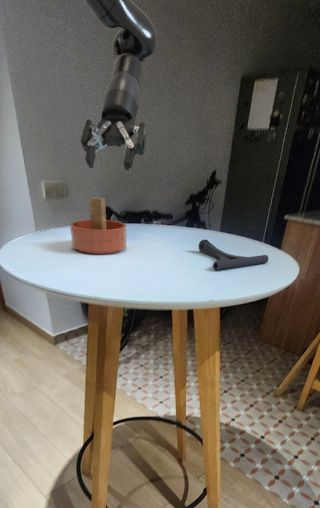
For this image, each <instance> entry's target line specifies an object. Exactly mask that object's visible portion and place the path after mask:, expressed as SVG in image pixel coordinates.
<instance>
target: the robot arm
mask: <svg viewBox="0 0 320 508" xmlns="http://www.w3.org/2000/svg"><path fill="white" fill-rule="evenodd" d="M83 1H84V3H85V4H86V5H87V7H88V8H89V10H90V11H91V12H92V14H93V15H94V16H95V18H96V19H97V21H98V22H99V23H100V25H101V26H102V27H103V28H104V29H106V30H113V29H116V28H121V29H120V30H119V31H118V32H116V35H115V36H114V38H113V41H112V46H111V47H112V48H111V49H112V62H113V69H112V73H111V77H110V80H109V83H108V85H107V89H106V94H105V98H104V102H103V107H102V111H101V118H100V121H99V122H98V123H93V122H92V120H91V119H86V121H85V124H84V128H83V130H82V134H81V136H80V144H81V146H82V148H83V151H84V152H85V157H84V158H85V162H86V164H87V166H88V168H89V169H93V168H94V164H95V160H96V156H97V153H98V152H99V151H100V150H103V149H105V148H106V147H107V146H108V147H114V146H115V147H122V146H123V147H124V149H125V150H126V151H125V153H124V154H125V155H124V159H123V166H124V170H125V171H128V172H129V171H130V169H132V167H133V164H134V159H135V157H136V155H139V156H142V155H144V154H145V148H146V140H147V130H146V124H145V122H144V121H141V122H140V123H139V125H135V124H136V120H137V114H138V110H139V108H140V99H141V92H142V91H141V90H142V87H143V82H144V75H145V74H144V72H145V71H144V66H143V62H144V61H146V60H148V59H149V58H151V57H152V56H153V55H154V54H155V53H156V51H157V48H158V34H157V30H156V28H155V25H154V23H153V22H152V20H151V18H150V17H149V16H148V15H147V14H146V12H144V11H143V10H142V9H141V8H140V7H139V6H138V5H137V4H135V2H134V1H132V0H83ZM134 135H136V137H137V139H136V143H134V142H133V141H132V139H131V138H133V136H134Z"/></svg>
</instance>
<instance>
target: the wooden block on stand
mask: <svg viewBox="0 0 320 508" xmlns="http://www.w3.org/2000/svg"><path fill="white" fill-rule="evenodd" d="M89 211H90V220H91V229H95V230H106V220H107V210H106V198H105V197H99V196H98V197H97V196H92V197H90V198H89Z"/></svg>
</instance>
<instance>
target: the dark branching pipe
mask: <svg viewBox="0 0 320 508" xmlns="http://www.w3.org/2000/svg"><path fill="white" fill-rule="evenodd" d="M198 250H199V252H201V254H204V255H207V256H210V257H213V258H215V259H218V260H216V261H214V262H213V264H212V269H213V270H214V271H220V270H227V269H228V270H229V269H233V268H240V267H246V266H254V265H260V264H267V263H268V262H269V255H267V254H261V255H254V256H240V255H235V254H231V253H227V252H225V251H223V250H221V249H219V248H218V247H216V246H215V245H214V244H212V242H210V241H209V240H208V239H201V240H200V241H199V243H198Z"/></svg>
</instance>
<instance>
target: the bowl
mask: <svg viewBox="0 0 320 508" xmlns="http://www.w3.org/2000/svg"><path fill="white" fill-rule="evenodd" d="M69 225H70V226H69V227H70V238H71V246H72V247H73V248H74V249H76V250H77V251H79V252H81V253H84V254H89V255H90V254H91V255H111V254H116V253H117V254H118V253H120V252H121V251H123V250H125V248H127V224H126V223H123V222H121V221H118V220H110V219H106V230H95V229H91V219H80V220H76V221H75V220H74V221H73V222H71V223H70V224H69Z"/></svg>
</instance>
